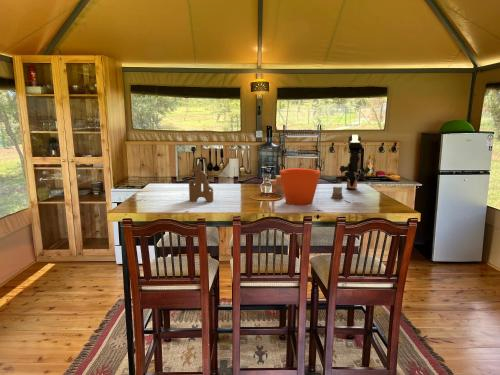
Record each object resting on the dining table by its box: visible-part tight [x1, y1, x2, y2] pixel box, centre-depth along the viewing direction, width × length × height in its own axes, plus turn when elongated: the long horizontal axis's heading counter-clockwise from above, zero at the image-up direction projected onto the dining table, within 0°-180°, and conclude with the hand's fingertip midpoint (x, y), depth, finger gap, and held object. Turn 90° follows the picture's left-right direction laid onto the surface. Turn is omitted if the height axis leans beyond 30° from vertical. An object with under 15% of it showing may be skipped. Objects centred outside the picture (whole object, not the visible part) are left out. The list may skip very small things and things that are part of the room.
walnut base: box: [330, 193, 344, 200], centre depth 231 cm, size 6×6×3 cm
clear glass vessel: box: [269, 174, 284, 195], centre depth 246 cm, size 21×6×12 cm, turn 93°
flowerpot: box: [279, 167, 322, 207], centre depth 216 cm, size 25×25×20 cm
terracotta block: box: [348, 180, 358, 189], centre depth 226 cm, size 4×4×4 cm
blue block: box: [332, 185, 343, 194], centre depth 231 cm, size 4×4×4 cm
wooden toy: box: [188, 161, 214, 203], centre depth 219 cm, size 15×7×25 cm, turn 88°
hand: (352, 185), depth 226 cm, fingers closed on terracotta block, 4 cm apart
